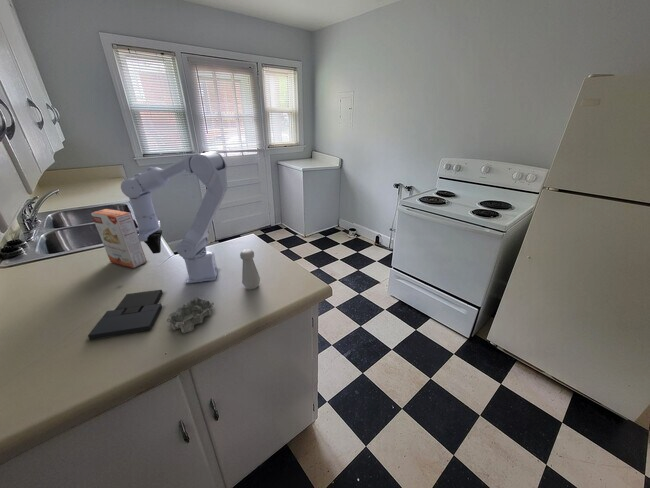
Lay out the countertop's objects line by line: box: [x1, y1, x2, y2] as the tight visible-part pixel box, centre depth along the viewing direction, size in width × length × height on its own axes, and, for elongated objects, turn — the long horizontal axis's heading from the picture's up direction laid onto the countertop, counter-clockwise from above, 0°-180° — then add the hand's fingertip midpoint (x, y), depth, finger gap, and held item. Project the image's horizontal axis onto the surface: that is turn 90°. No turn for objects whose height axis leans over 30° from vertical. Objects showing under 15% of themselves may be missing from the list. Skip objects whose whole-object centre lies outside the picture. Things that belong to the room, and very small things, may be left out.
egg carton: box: [166, 295, 215, 334], centre depth 74 cm, size 11×8×4 cm
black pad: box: [114, 289, 163, 315], centre depth 81 cm, size 10×11×2 cm
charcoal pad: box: [87, 303, 163, 341], centre depth 74 cm, size 14×10×2 cm
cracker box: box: [90, 208, 148, 269], centre depth 102 cm, size 14×6×21 cm, turn 67°
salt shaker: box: [239, 248, 261, 291], centre depth 87 cm, size 6×6×13 cm
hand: (156, 252), depth 93 cm, fingers closed
